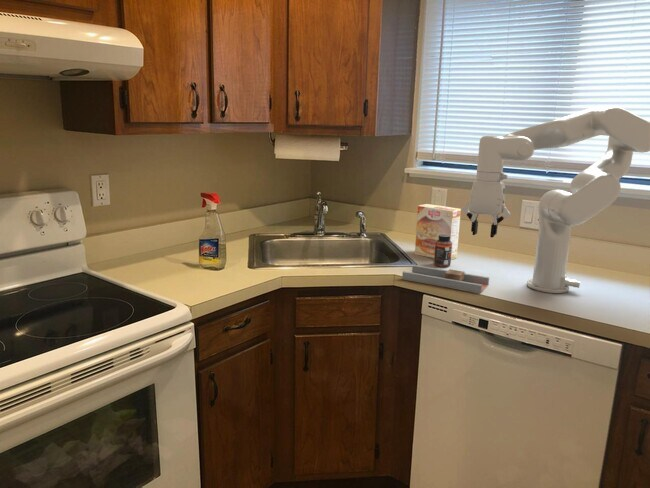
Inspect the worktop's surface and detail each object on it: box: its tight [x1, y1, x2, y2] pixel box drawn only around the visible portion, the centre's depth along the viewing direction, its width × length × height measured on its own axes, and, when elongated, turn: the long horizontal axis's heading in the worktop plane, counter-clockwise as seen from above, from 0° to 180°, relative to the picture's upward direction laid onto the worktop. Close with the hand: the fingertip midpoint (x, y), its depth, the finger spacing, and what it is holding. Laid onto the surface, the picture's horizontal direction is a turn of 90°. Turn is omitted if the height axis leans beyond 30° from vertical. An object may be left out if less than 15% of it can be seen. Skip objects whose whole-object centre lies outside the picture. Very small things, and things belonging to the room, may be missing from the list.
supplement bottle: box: [433, 234, 452, 268], centre depth 196 cm, size 6×6×11 cm
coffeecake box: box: [414, 203, 462, 261], centre depth 207 cm, size 15×7×20 cm, turn 49°
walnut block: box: [445, 268, 466, 281], centre depth 176 cm, size 5×5×4 cm
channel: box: [401, 264, 490, 294], centre depth 178 cm, size 26×10×2 cm, turn 61°
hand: (483, 234), depth 169 cm, fingers open, 4 cm apart
